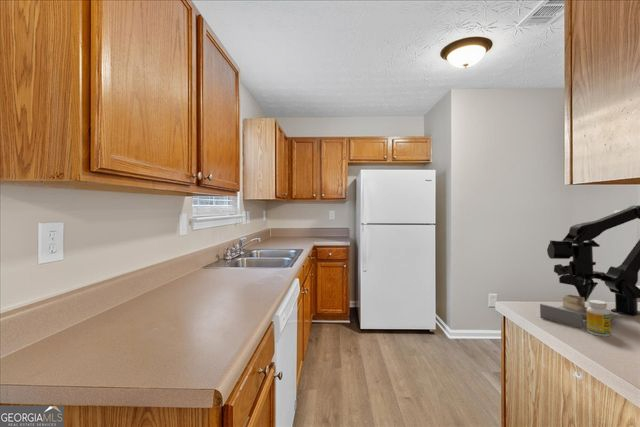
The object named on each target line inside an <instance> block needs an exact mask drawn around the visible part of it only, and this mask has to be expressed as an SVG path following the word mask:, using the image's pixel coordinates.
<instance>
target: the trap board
mask: <svg viewBox="0 0 640 427" xmlns="http://www.w3.org/2000/svg"><path fill="white" fill-rule="evenodd" d="M587 308H588V307H587V306H585V309H582V310H578V311H577V310H572V309H568V308H564V307H563V305H561V306H560V305H559V306H552V305H548V304H544V303H540V304H539V312H540V313H539V314H540V316H539V317H540V318H542V319H543V318H544V319H547V320H550V321H553V322H554V321H555V322H557V323H562V324H564V325H569V326H572V327H575V328H579V329H585V328H587ZM613 319H614V313H613V312H610V321H611V320H613Z"/></svg>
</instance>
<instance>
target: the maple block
mask: <svg viewBox="0 0 640 427" xmlns="http://www.w3.org/2000/svg"><path fill="white" fill-rule="evenodd" d="M585 303H586V302H585V298H584V297H580V296H579V295H576V294H575V295H573V294H567V295H563V296H562V306H563V307H564V308H568V309H572V310H577V311H578V310H582V309H585V307H586V304H585Z"/></svg>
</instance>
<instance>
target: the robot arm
mask: <svg viewBox="0 0 640 427" xmlns="http://www.w3.org/2000/svg"><path fill="white" fill-rule="evenodd" d="M636 219H638V220H640V205H631V206H629V207H627V208H625V209H623V210H620V211H617V212H614V213H612V214H609V215H606V216H604V217H601V218H598V219H596V220H592V221H587V222H581V223H576V224H574V225H572V226H570V227H569V230H568V233H567V234H566V235H565V237H563V239H562V240H553V239H552V240H549V244H548V246H547V248H546V251H547V256H548V258H549V259H552V260H553V259H554V260H555V259H556V260H567V259H569V260H570V259H571V258H572V260H570V261H569V262H568V264H569V265H568V264H567V265H562V264H561V263H560V264H554V266H553V272H554V273H555V274H557V276H558V282H559V284H564V285H571V286H574V287H575V289H576V291H577V294H578V296H580V297H584V298H585V303H586V302H588V299H589V297H591V294H592V293H593V292H594V290H595V289H596V286H597V285H598V284H599V282H595V281H594V280H593V279H597V280H600V281H601V282H604V284H605V286H606V287H607V288H608V290H609V291H610V293H613V294H614V301H615V302H614V304H615V305H614V306H615V308H612V309H610V311H611V312H612V313H613V312H614V313H619V314H621V315H622V314H623V315H626V316H627V315H628V316H633V317H634V316H638V315H640V310H639V308H638V299H640V288H639V287H638V286H637V283H638V281H639V271H640V238H639V239H638V241H637V242H636V243H635V245H634V247H633V248H632V249H631V250H630V252H629V253H628V254H627V256H626V257H625V259H624V260H623V262H622V263H621V264H620V265H618V266H616V267H615V266H609V268H608V270H607V271H606V272H605V271H604V272H602V271H597V270H596V271H595V270H594V266H596V265H597V262H596V261H594V254H593V253H594V252H593V249H594V248H598V247H599V248H600V247H601V245H600V244H599V243H597V241H595V240H594V239H595V238H597V237H599V236H600V235H602V233H603V232H605V231H607V230H610V229H612V228H616V227H618V226H621V225H622V224H623V225H624V224H626V223H628V222H631V221H634V220H636Z"/></svg>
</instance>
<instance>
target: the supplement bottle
mask: <svg viewBox="0 0 640 427" xmlns="http://www.w3.org/2000/svg"><path fill="white" fill-rule="evenodd" d="M588 305H589V306H588V307H587V327H586V330H587V332H588V333H589V334H592V335H594V336H598V337H609V336H611V333H612V332H611V330H612V329H611V327H612V326H611V325H612V324H611V320H610V313H611V312H610V311H611V310H609V309H607V307H608V303H607V302H606V301H603V300H599V299H590V300H589V301H588Z"/></svg>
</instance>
